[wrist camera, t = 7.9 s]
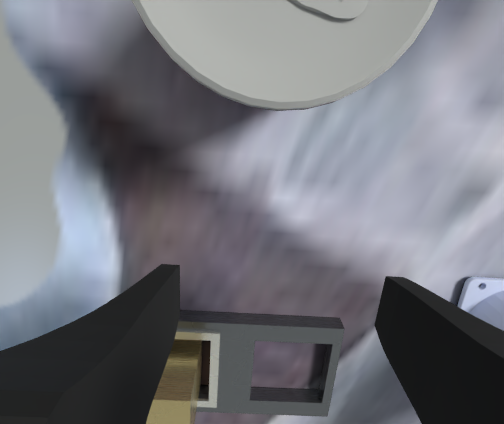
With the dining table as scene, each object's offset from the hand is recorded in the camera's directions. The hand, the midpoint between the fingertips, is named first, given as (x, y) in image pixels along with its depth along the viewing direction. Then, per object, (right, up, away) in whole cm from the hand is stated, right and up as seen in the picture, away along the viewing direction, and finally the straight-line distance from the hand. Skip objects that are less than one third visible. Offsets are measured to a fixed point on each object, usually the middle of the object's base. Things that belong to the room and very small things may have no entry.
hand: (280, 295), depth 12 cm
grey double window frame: (-2, -8, +13) cm, 16 cm away
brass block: (-7, -8, +13) cm, 17 cm away
